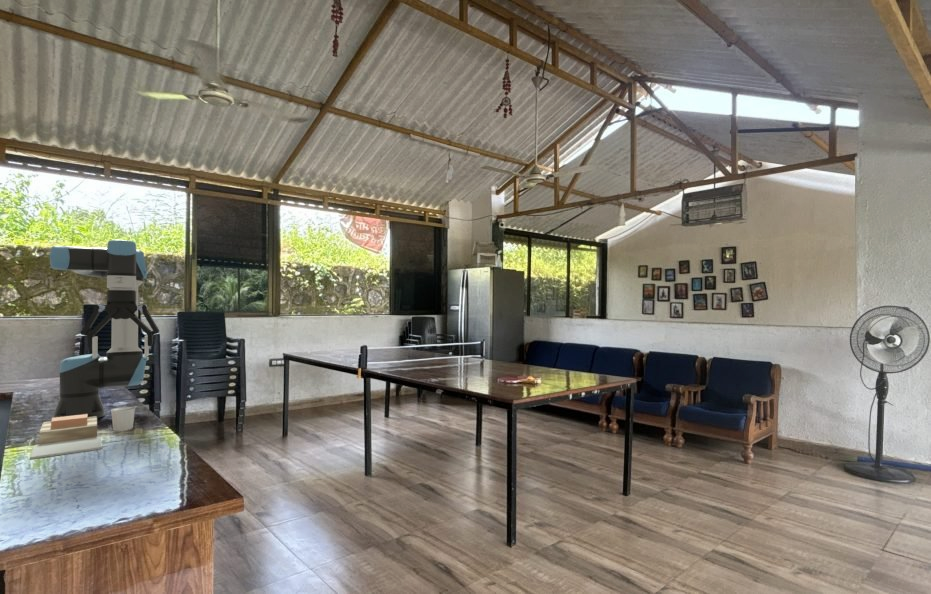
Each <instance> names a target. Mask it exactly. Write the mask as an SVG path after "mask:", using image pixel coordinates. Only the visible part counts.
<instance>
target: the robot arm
mask: <svg viewBox="0 0 931 594" xmlns="http://www.w3.org/2000/svg"><path fill="white" fill-rule="evenodd" d="M106 246H107V247H100V246H99V247H98V246H96V247H95V246H94V247H91V246H90V247H87V246H71V245H70V246H69V245H67V246H66V245H53V246H51V247H50V251H49V265H50V267H51V269H52V270H56V271H57V270H60V271H71V272H73V273H75V274H77V275H78V274H79V275H82V276H87V277H94V278H105V279H106V288H107V291H106V305H100V304H95V305H94V306H93V312H92V313H91V315H90V316H89V319H88V320H87V322H86V323H85V325H84V327H83V328H82V330H81V331H80V334H81V335H82V336H85V337H87V342H88V343H87V345H88V348H91V350H92V353H90V354H88V353H87V354H82V355H75V356H71V357H67V358H64V359H62V360H61V361H60V364H59V371H58V374H59V399H58V402H57V404H56V408H55V410H54V412H53V413H52V414H53V415H52V418H55V417H64V416H73V415H82V414H88V417H93V416H97V419H99V418H102V417H104V416H105V414H106V413H105V407H104V405H103V402H102V399H101V397H100V389H104V388H105V389H106V388H108V389H109V388H118V387H119V388H120V387H133V386H138V385H140V384H142V383H144V377H145V371H146V366H147V365H146V364H147V358H148V356H149V355H150V354H149V353H150V347H152V346H153V342H154V340H153V339H154V335H157V334H159V333H160V329H159V327H158V326H157V323H156V322H155V320H154V319H153V317H152V316H151V313H150V312H149V306H148V305H147V304H143V305H139V287H140V286H141V285H142V284H144V282H143V281H144V280H145V279H147V278H148V273H147V265H146V259H145V258H146V257H145V254H144V252H143V250H141V249H137V244H136V242H135V241H133V240H128V239H127V240H126V239H110V240H108V242H107V245H106ZM104 310H105V312H106V313H107V315H106V316H105V317H104V318H103V319H102V320H101V321H100V322H99V323H98V324H96V326H94V324H95V322H96V320H97V319H98V317H99V315H100V313H102V312H103V311H104ZM139 312H141V313H142V314H143V316H144V317H145V320H146V321H147V323H148V324H149V326H150V328H151V329H150V328H149V327H148V326H147V325H146V324H145V323H144V322H143V321H142V320H141V319H140V318H139ZM110 321H111V345H110V347H111V348H109V350H107V351H106V356H103V357H102V356H101V355H100V354H99V353H98V351H99V350H98V347H99V346H98V345H99V343H98V341H99V340H98V339H99V336H96V335H97V334H98V333H99V332H100V331H101V330H102V329H103V328H104V327H105V326H106V325H107V324H108V323H109V322H110ZM92 326H94V327H93V329H92V330H91V328H92ZM139 328H140V329H141V330H142V331H143V332H144V333H145V334H146V335H144V354H143V350H142V348H140V347H139Z"/></svg>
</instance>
